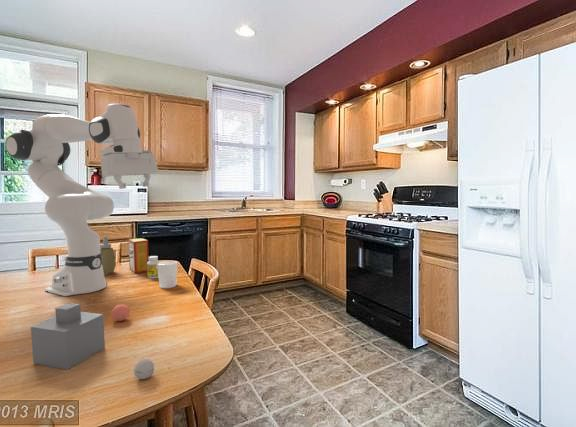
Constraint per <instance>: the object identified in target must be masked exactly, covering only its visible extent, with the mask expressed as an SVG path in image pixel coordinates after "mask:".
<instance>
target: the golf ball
mask: <svg viewBox="0 0 576 427" xmlns="http://www.w3.org/2000/svg"><path fill="white" fill-rule="evenodd" d="M154 371H155V364H154V361H153V360H151V359H149V358H142V359H140V360H139V361H137V363H136V364H135V366H134V369H133V372H134V376H135V377H136V378H137V379H140V380H147V379H148V378H150V377H151V376H152V375H153V374H154Z"/></svg>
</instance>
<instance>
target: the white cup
mask: <svg viewBox="0 0 576 427" xmlns="http://www.w3.org/2000/svg"><path fill="white" fill-rule="evenodd" d="M157 267H158V282H159V283H158V284H159V288H160V289H171V288H174V287H176V286H177V284H178V280H177V279H178V261H177V260H163V261H159V263H157Z"/></svg>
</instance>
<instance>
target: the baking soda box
mask: <svg viewBox="0 0 576 427" xmlns="http://www.w3.org/2000/svg"><path fill="white" fill-rule="evenodd" d="M148 257H150V255H149V240H148V239H145V238H133V239H132V238H131V239H128V258H129V259H128V261H129V271H130V270H131V271H130V272H132V273H133V272H134V273H133V274H135V275H136V273H137V274H142V272H143V273H148V272H147V262H148V261H149V260H148Z"/></svg>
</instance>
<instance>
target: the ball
mask: <svg viewBox="0 0 576 427" xmlns="http://www.w3.org/2000/svg"><path fill="white" fill-rule="evenodd" d="M130 312H131V311H130V308H129V306H127V304H117V305H115V306H114V307H113V308H112V310H111V314H110V316H111V318H112V319H113V320H114V321H116V322H122V321H124V320H127V318H128V317H129V316H130Z"/></svg>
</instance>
